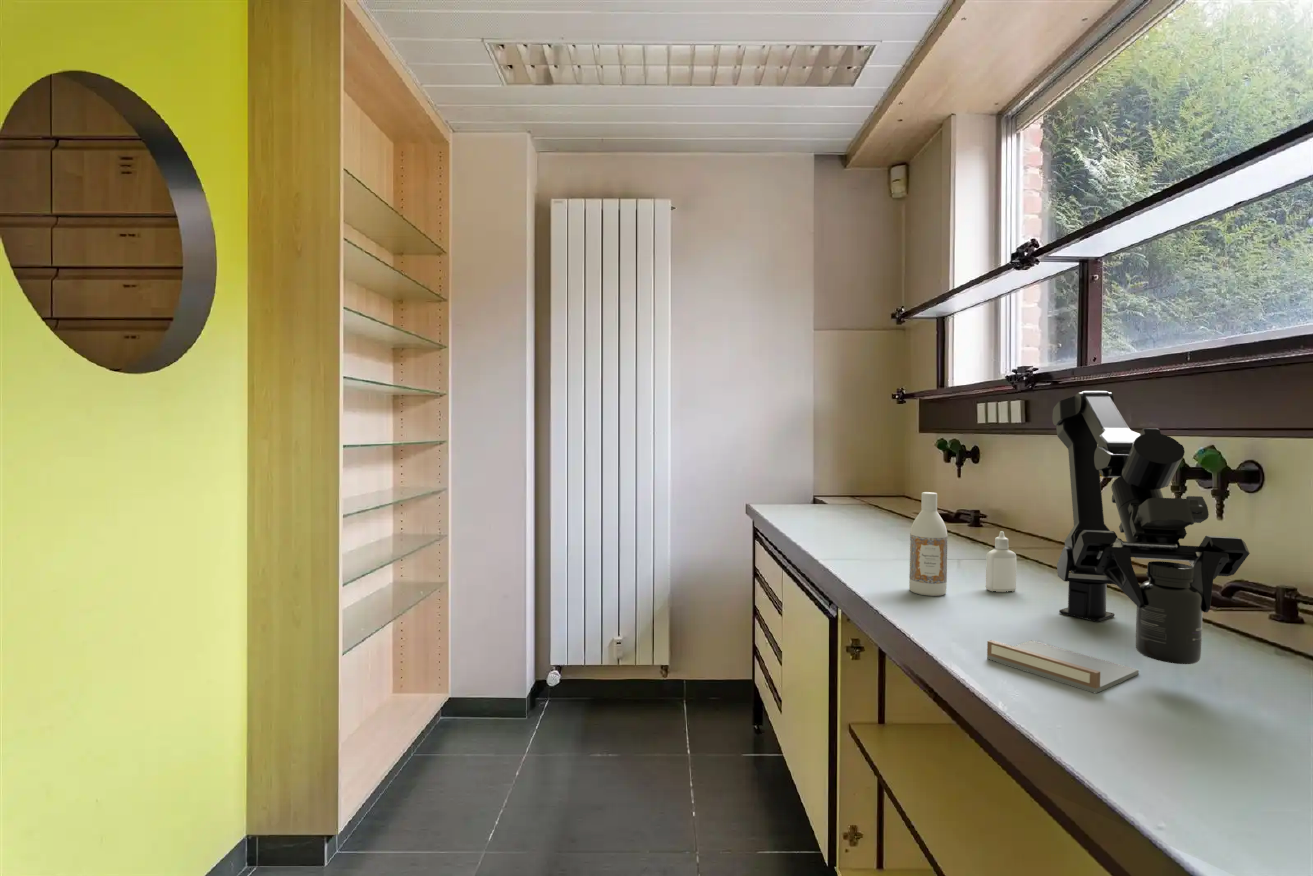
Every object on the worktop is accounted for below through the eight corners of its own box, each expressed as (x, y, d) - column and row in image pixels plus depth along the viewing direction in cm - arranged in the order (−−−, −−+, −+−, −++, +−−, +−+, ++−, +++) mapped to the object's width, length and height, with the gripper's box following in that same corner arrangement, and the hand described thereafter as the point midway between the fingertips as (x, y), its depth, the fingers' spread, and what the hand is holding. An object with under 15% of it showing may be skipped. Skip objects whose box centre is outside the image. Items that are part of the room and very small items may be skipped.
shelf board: (1031, 644, 105) (1031, 627, 105) (1138, 674, 92) (1139, 655, 92) (986, 659, 98) (986, 641, 98) (1095, 693, 86) (1095, 673, 86)
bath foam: (910, 595, 133) (911, 494, 133) (908, 586, 140) (909, 490, 139) (948, 598, 131) (950, 495, 131) (944, 589, 138) (946, 491, 137)
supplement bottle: (1213, 668, 84) (1216, 572, 83) (1151, 663, 85) (1154, 569, 85) (1182, 649, 91) (1185, 560, 90) (1125, 645, 92) (1128, 557, 92)
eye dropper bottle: (1017, 594, 134) (1019, 534, 134) (986, 591, 136) (987, 532, 136) (1014, 589, 139) (1015, 530, 138) (984, 586, 141) (985, 529, 140)
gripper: (1081, 472, 94) (1106, 569, 83) (1244, 476, 88) (1292, 580, 78) (1063, 519, 101) (1084, 614, 91) (1212, 526, 96) (1252, 627, 86)
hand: (1173, 608), depth 86 cm, fingers closed on supplement bottle, 7 cm apart
